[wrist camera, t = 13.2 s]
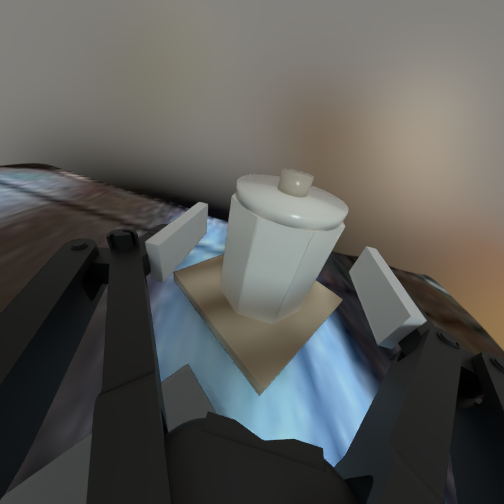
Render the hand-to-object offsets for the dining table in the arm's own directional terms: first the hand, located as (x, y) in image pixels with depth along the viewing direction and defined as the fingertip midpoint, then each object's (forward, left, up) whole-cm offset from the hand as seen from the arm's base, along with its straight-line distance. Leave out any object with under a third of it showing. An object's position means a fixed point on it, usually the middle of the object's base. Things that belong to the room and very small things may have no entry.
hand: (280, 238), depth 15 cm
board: (-1, +1, -9) cm, 9 cm away
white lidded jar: (-1, +1, -7) cm, 8 cm away
